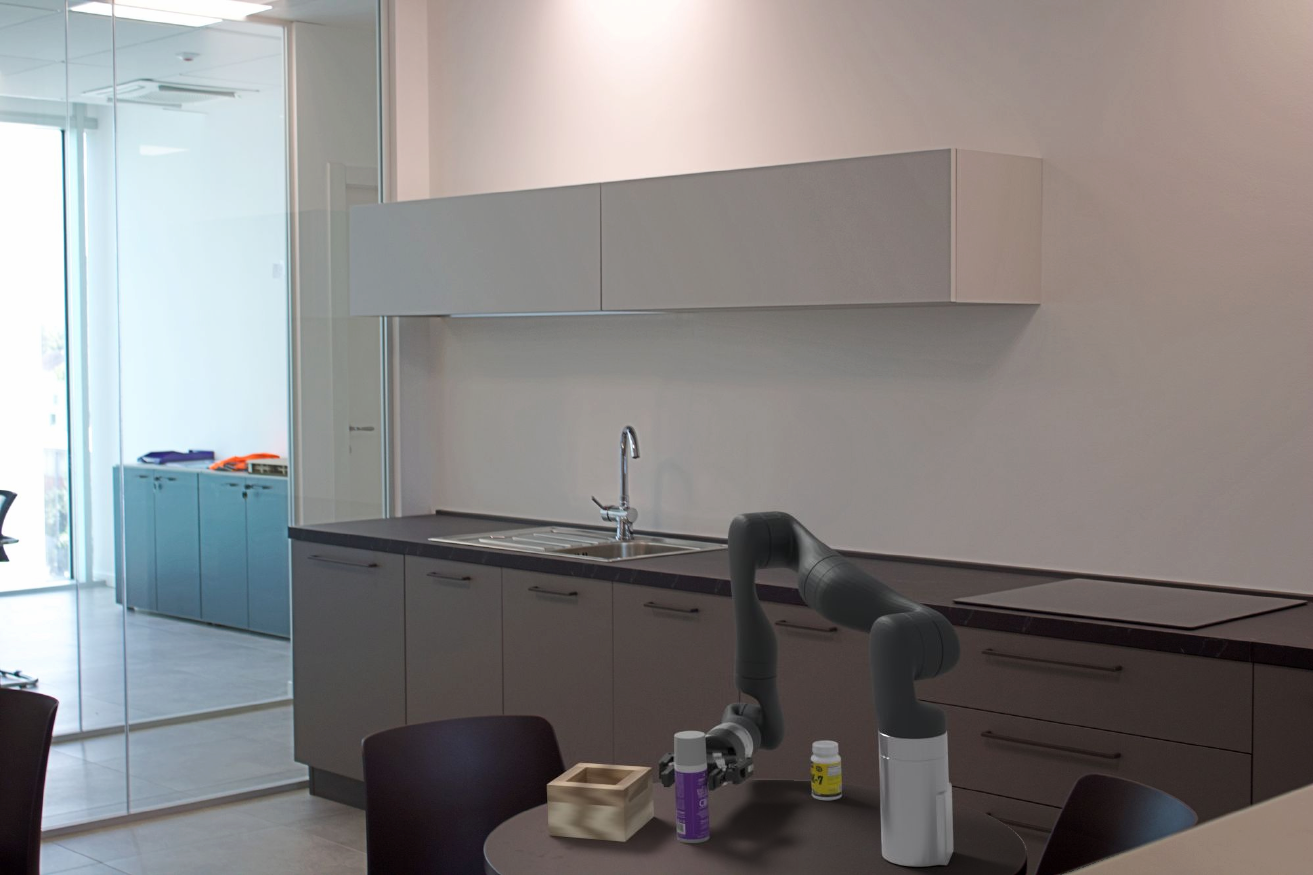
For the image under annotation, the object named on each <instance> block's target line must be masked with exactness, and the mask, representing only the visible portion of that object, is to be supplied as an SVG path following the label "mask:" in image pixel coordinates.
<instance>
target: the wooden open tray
mask: <svg viewBox="0 0 1313 875" xmlns="http://www.w3.org/2000/svg"><path fill="white" fill-rule="evenodd" d="M653 776H654V775H653V767H649V766H637V765H636V766H633V765H620V764H619V765H618V764H603V763H589V762H588V763H587V762H579V763H577V764H575V765H574V766H572V767H571V768H570V769H568V770H566V771H565V772H563V773H562V774H560V775H559V776H558V777H556V778H554V779H553V780H551V781H550V782H549V783H547V784H546V793H547V795H546V796H547V797H546V798H547V799H546V800H547V801H546V802H547V820H548V822H547V823H548V824H547V825H548V826H547V827H548V836H551V837H552V836H554V837H564V838H566V837H567V838H575V839H577V838H578V839H589V840H590V839H591V840H601V841H610V842H611V841H613V842H623V843H625V842H627V841H628V840H629V839H630V838H631V837H633V836H634V834H636V833H637V832H638V831H639V830H640V829H642V828H643V827H644V826H645V825H646V824H647V823H648V822H650V821H651V820H652V819H653V818H654V817H655V809H654V807H655V806H654V804H655V803H654V784H653V781H654V780H653Z"/></svg>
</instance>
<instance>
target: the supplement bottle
mask: <svg viewBox="0 0 1313 875" xmlns="http://www.w3.org/2000/svg"><path fill="white" fill-rule="evenodd" d="M811 751H812V753H813V754H812V755H811V756H810V779H811V780H810V781H811V783H810V785H811V796H812V797H813V798H814V799H816V800H820V801H834V800H838V799H841V798H842V796H843V785H842V782H843V780H842V759H841V756H840V755H839V743H838V742H836V741H833V740H816V741H814V742H813V743H812V750H811Z"/></svg>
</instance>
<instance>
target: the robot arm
mask: <svg viewBox="0 0 1313 875" xmlns="http://www.w3.org/2000/svg"><path fill="white" fill-rule="evenodd" d="M727 556H728V568H729V577H730V588H731V590H730V591H731V597H732V598H731V599H732V606H733V616H734V627H735V629H734V630H735V646H734V647H735V648H734V667H733V668H734V672H733V682H734V684H733V685H734V687H735V689H737V690H738V691H739V692H740V693H743V694H744V695H747V696H749V697H752V698H753V699H754V700H756V701H757V703H758V704H752V703H747V702H733V703H731V704H730V703H729V705H727V706H726V707H725V709H724V711H723V714H722V718H721V724H719V725H716V726H715V727H713V728H712V729H710V730H709V731H708V732H706V733H705V742H706V758H707V778H708V791H712V792H713V791H715V790H717V788H721V787H722V786H726V785H728V784H729V783H728V782H731V783H732V785H735V786H737V785H740V784H742V783H743V782H745V781H746V780H748V779H749V778H751V777H753V776H754V758H753V756H754V755H755V754H756V753H757V752H758V750H763V751H775V750H776V749H778V748H779V747H780V746H781V745H782V743H783V741H784V739H785V735H786V722H785V721H786V720H785V716H784V712H783V707H782V704H781V700H780V694H779V689H778V679H777V678H778V663H779V662H778V660H779V659H778V658H779V644H778V639H777V635H776V631H775V629H774V627H773V625H772V623H771V621H770V620H769V618H768V616H767V614H766V613H765V610H764V609H763V607H762V605H761V602H760V600H759V598H758V593H757V590H756V575H757V574H756V573H757V572H756V571H758V570H768V569H789V570H791V571H793V572H794V573H796V574H797V588H798V592H799V595H800V597H801V599H802V601H803V602H805V603H804V604H806V605H807V606H808V607H809V608H811V609H812V610H813V611H815V613H817V614H818V615H820V616H821V617H822V618H824V619H825V620H826V621H828V622H830V623H833V624H834V625H837V626H839V627H842V628H845V629H848V630H852V631H855V632H859V633H864V634H869V638H868V640H869V641H868V654H869V655H868V657H869V666H870V676H871V677H870V678H871V690H872V702H873V708H874V712H875V714H876V720H877V731H878V732H877V733H878V734H877V736H878V762H879V763H878V764H879V768H878V769H879V800H880V801H879V802H880V806H879V807H880V831H881V832H880V833H881V834H880V836H881V837H880V839H881V840H880V841H881V855H882V857H883V858H884V860H886V861H888V862H890V863H892V864H896V865H899V866H906V867H916V868H917V867H931V866H939V865H940V866H947V865H948V864H949V862H950V860H951V857H952V856H953V852H954V828H953V827H954V824H953V823H954V821H953V792H952V791H953V788H952V786H953V785H952V783H951V782H950V780H949V752H948V751H949V749H948V718H947V712H946V711H945V710H944V709H943V708H942V707H940V706H939V705H936V704H933V703H929V702H925V701H921V700H920V699H918V698H917V694H916V688H915V682H918V681H924V680H931V679H937V678H940V677H942V676H946V675H947V674H949V673H950V672H952V671H953V670H954V669H955V668H956V667H957V665H958V664H959V661H960V658H961V655H962V654H961V653H962V648H961V642H960V639H959V636H958V633H957V630H956V629H955V628H954V626H953V625H952V622H950V621H949V619H948V618H946V616H945V615H943V614H942V613H941V612H939V611H937V610H935V609H933V608H931V607H929V606H927V605H925V604H923V603H920V602H919V601H916V600H915V599H912V598H910V597H908V596H905V595H904V594H902V593H900V592H898V591H897V590H895V589H893V588H892V587H891V586H889V585H887V584H886V583H884V582H883V581H881V580H880V579H878V578H877V577H875V576H873V575H872V574H870V573H869V572H867V571H866V570H865V569H863V568H862V567H861V566H859V565H858V564H856V563H855V562H853V561H851V560H850V559H849V558H847V557H846V556H844V555H841V554H840V553H839V552H837V551H836V550H834V549H833V548H831V547H830V546H829V545H827V544H826V543H825V542H823V541H821V540H820V539H819V538H818V537H816V536H815V535H814V534H813V533H812V532H811V531H810V530H808V529H807V527H806V526H805V525H804V524H802V523H801V521H799V520H798V519H797V518H796V517H794V516H793V515H791V514H790V513H788V512H786V511H785V512H784V511H778V510H777V511H776V510H775V511H774V510H773V511H760V512H759V511H758V512H745V513H741V514H737V515H736V516H734V518H732V520H731V522H730V525H729V528H728V533H727ZM658 779H659V780H661V784H662V786H663V788H670V787H672V785H675V756H674V752H672V751H669V752H666V753H665V754H664V755H663V756H662V757H661V759H659V761H658Z"/></svg>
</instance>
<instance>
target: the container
mask: <svg viewBox="0 0 1313 875" xmlns="http://www.w3.org/2000/svg"><path fill="white" fill-rule="evenodd" d="M705 734H706V733H705V732H702V731H699V730H685V731H679V732H676V733H675V734H674V736H673V737H674V742H673V744H674V746H673V749H674V752H673V753H674V756H675V783H674V787H675V793H674V794H675V815H676V817H675V818H676V837H677V838H676V839H677V840H678V841H679V842H681V843H685V844H698V843H699V844H700V843H703V842H706V841H708V840H709V839H710V818H709V817H710V814H709V810H710V809H709V789H708V778H707V758H706V742H705Z"/></svg>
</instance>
